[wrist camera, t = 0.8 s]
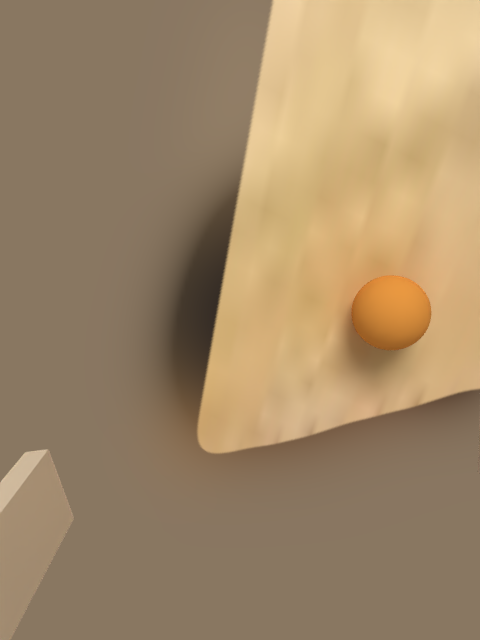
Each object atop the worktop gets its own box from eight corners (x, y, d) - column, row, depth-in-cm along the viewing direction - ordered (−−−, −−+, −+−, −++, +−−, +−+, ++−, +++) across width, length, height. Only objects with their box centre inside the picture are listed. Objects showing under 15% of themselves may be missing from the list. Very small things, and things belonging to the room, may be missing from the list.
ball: (423, 274, 32) (455, 292, 27) (403, 338, 34) (430, 367, 28) (353, 263, 32) (372, 280, 27) (338, 328, 34) (353, 356, 28)
